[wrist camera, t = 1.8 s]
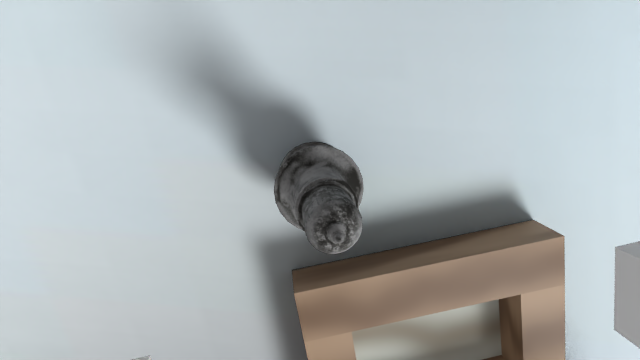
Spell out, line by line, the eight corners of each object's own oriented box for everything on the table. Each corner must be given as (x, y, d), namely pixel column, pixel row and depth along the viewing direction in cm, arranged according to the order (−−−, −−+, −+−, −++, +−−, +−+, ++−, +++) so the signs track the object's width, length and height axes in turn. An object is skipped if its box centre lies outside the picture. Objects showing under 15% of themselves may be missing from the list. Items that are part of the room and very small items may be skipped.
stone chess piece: (257, 178, 28) (244, 244, 17) (314, 120, 28) (342, 147, 16) (313, 230, 30) (337, 323, 18) (369, 176, 29) (430, 237, 18)
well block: (291, 270, 30) (293, 293, 27) (533, 219, 31) (564, 236, 28) (325, 430, 34) (330, 468, 31) (537, 380, 36) (565, 411, 32)
